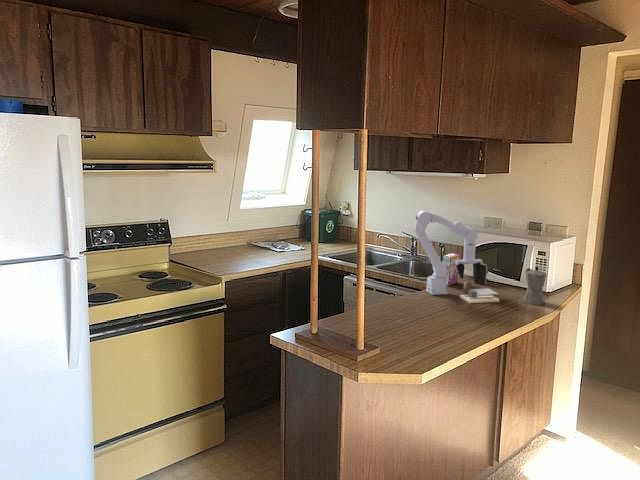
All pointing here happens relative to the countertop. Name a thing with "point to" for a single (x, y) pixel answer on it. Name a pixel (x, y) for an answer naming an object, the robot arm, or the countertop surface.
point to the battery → (482, 275)
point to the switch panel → (480, 298)
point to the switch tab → (472, 293)
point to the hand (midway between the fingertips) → (468, 277)
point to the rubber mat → (485, 291)
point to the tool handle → (467, 287)
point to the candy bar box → (451, 268)
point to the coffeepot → (534, 286)
